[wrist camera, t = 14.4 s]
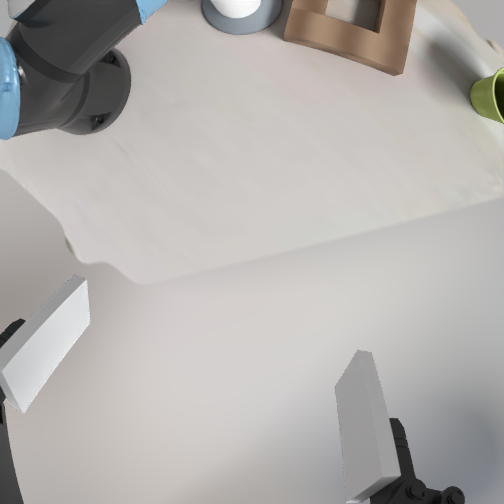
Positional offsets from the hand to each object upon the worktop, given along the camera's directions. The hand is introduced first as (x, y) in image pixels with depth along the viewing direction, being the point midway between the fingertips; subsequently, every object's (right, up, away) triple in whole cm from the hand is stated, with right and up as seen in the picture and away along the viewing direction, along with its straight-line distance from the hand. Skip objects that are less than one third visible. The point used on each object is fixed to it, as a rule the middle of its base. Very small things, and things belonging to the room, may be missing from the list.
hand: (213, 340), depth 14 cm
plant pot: (+38, +28, +19) cm, 51 cm away
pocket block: (+16, +37, +17) cm, 44 cm away
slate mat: (0, +39, +18) cm, 43 cm away
